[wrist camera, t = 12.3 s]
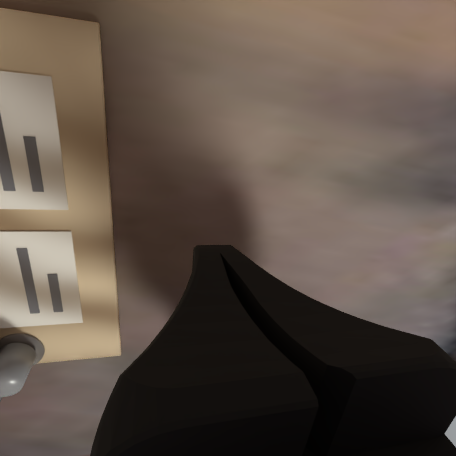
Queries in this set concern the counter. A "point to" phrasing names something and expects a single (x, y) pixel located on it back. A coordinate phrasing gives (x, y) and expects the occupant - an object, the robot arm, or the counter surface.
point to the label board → (55, 191)
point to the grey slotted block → (15, 367)
